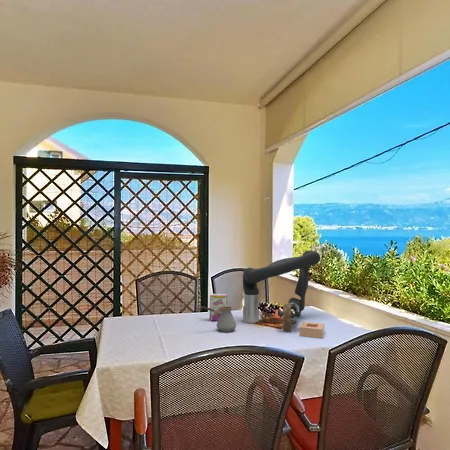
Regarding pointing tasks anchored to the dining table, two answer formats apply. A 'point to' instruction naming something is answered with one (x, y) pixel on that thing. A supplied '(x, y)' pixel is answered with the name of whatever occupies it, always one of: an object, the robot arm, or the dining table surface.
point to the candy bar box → (217, 305)
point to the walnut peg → (287, 318)
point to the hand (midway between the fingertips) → (286, 316)
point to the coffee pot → (224, 319)
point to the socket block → (311, 329)
